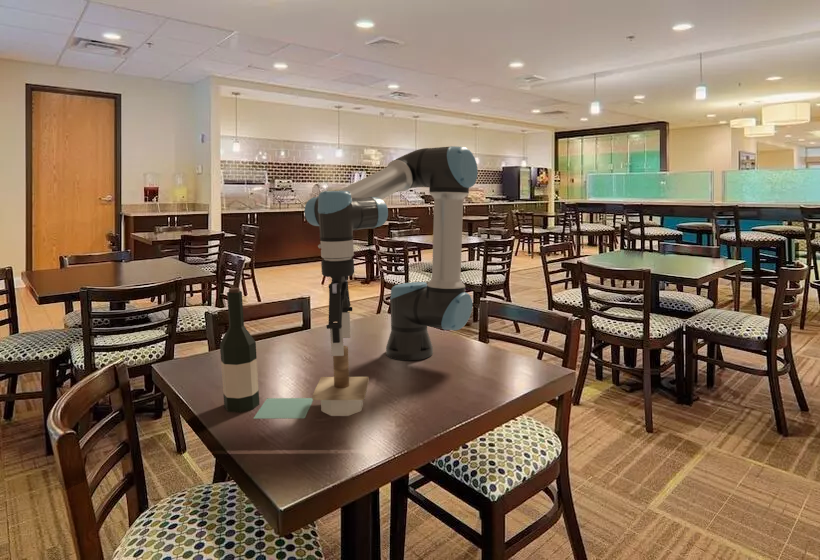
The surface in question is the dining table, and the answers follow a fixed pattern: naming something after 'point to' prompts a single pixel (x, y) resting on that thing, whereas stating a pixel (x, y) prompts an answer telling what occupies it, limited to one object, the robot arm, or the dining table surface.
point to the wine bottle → (238, 360)
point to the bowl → (341, 407)
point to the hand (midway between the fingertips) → (341, 346)
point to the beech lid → (341, 383)
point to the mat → (284, 408)
